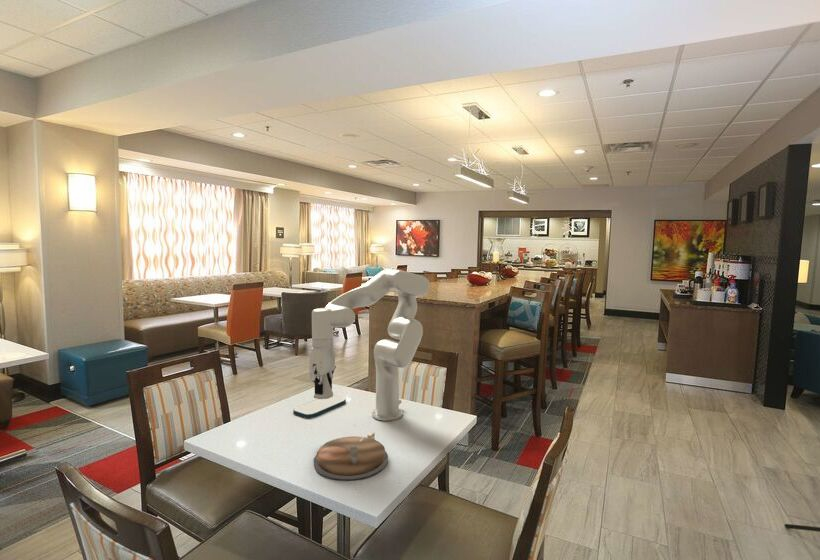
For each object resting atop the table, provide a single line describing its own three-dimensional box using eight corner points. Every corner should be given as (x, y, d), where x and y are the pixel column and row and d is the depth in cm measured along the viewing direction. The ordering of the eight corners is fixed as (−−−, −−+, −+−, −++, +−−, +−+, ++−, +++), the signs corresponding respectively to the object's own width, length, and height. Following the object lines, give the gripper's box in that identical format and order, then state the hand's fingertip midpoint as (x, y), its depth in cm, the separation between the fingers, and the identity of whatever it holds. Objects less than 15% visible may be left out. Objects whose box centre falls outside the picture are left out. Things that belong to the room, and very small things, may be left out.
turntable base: (344, 436, 159) (344, 425, 158) (403, 449, 149) (403, 438, 148) (297, 470, 134) (297, 457, 134) (364, 488, 125) (364, 475, 124)
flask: (328, 400, 153) (328, 373, 152) (310, 399, 154) (309, 371, 154) (336, 393, 160) (336, 367, 159) (318, 392, 161) (317, 366, 161)
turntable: (315, 445, 148) (315, 425, 148) (378, 439, 154) (379, 420, 153) (317, 479, 127) (317, 456, 127) (391, 470, 132) (391, 448, 132)
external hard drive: (309, 420, 174) (309, 415, 173) (289, 414, 180) (289, 409, 180) (348, 403, 193) (348, 398, 193) (330, 398, 200) (330, 393, 199)
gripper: (327, 336, 165) (328, 383, 166) (299, 346, 149) (300, 397, 151) (344, 338, 162) (345, 386, 163) (317, 348, 146) (317, 401, 148)
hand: (323, 391), depth 157 cm, fingers closed on flask, 4 cm apart
